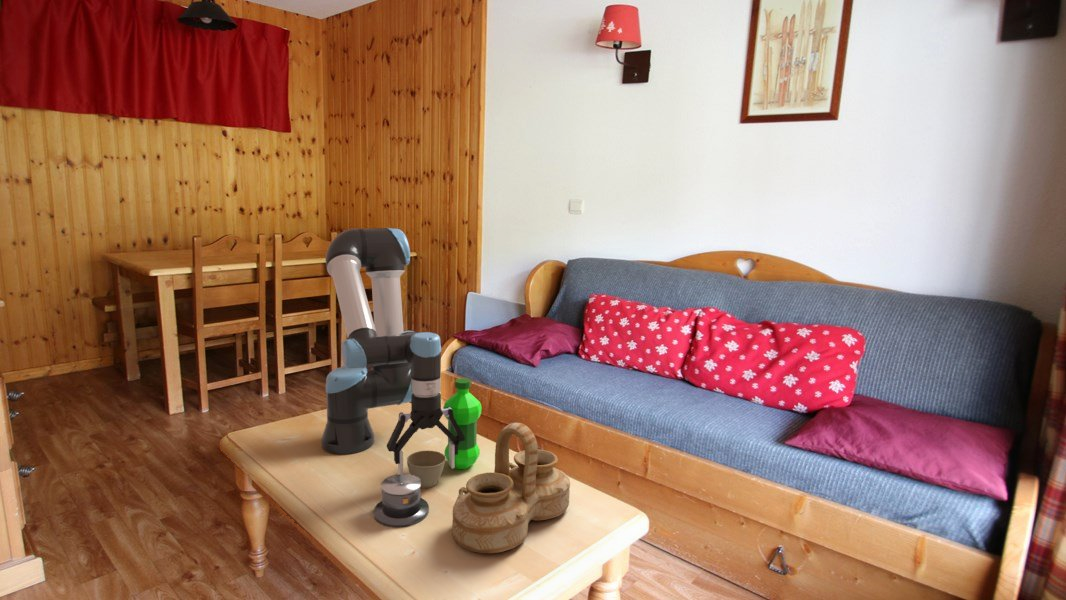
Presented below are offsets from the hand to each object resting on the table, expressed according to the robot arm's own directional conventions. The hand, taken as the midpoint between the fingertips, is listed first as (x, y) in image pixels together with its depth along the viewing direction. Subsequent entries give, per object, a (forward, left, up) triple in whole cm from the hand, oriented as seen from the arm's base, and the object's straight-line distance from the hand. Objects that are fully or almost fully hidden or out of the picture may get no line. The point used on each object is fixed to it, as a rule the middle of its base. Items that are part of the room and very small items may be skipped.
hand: (426, 470), depth 162 cm
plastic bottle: (-7, +12, -4) cm, 15 cm away
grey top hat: (+12, -9, -4) cm, 15 cm away
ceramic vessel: (+24, +15, -4) cm, 28 cm away
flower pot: (0, 0, -4) cm, 4 cm away
